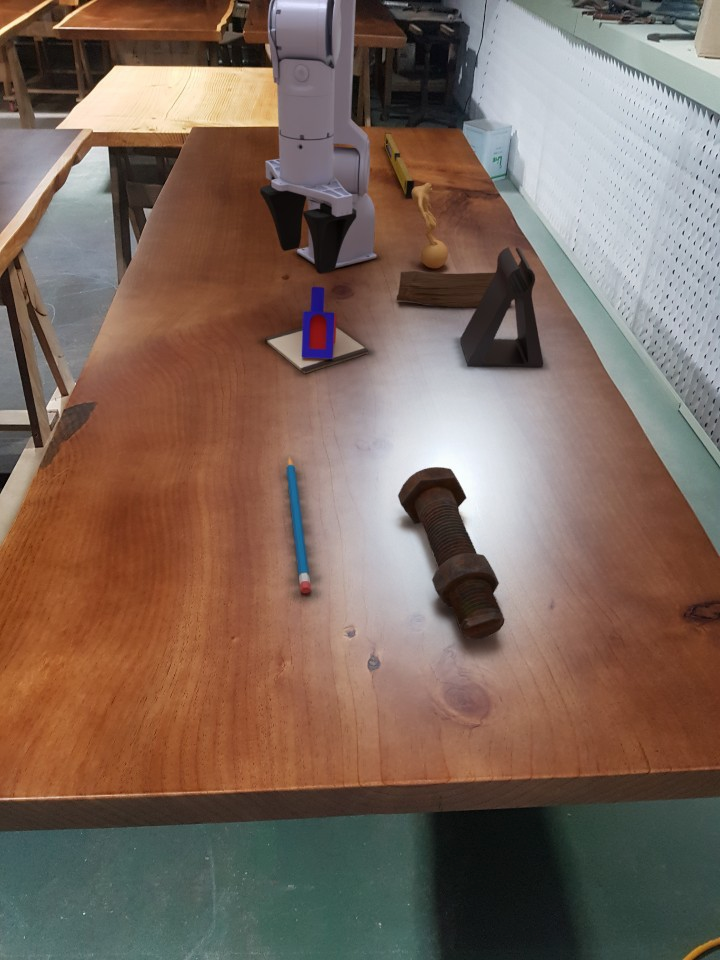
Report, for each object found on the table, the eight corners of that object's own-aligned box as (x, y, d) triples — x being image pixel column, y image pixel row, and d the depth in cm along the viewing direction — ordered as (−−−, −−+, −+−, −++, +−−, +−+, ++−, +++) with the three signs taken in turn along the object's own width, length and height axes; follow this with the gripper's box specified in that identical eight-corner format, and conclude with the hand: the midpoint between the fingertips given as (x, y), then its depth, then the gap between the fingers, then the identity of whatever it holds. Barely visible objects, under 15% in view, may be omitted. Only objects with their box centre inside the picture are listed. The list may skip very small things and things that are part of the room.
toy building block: (334, 358, 86) (337, 289, 84) (332, 358, 82) (335, 287, 80) (305, 356, 86) (307, 288, 84) (301, 357, 82) (304, 285, 80)
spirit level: (412, 198, 130) (414, 180, 128) (405, 197, 130) (406, 180, 128) (390, 147, 156) (391, 132, 154) (384, 147, 155) (384, 132, 154)
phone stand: (531, 342, 88) (551, 248, 81) (542, 367, 84) (565, 269, 76) (459, 341, 88) (473, 246, 80) (466, 366, 83) (481, 267, 76)
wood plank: (508, 302, 97) (514, 267, 94) (511, 309, 96) (518, 274, 92) (396, 301, 96) (399, 266, 93) (397, 308, 95) (400, 272, 91)
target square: (327, 323, 90) (326, 320, 90) (368, 353, 85) (368, 350, 85) (264, 341, 86) (264, 337, 86) (304, 373, 81) (304, 370, 80)
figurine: (446, 279, 102) (456, 193, 95) (404, 276, 102) (411, 190, 95) (445, 257, 109) (455, 175, 101) (406, 254, 109) (413, 172, 101)
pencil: (300, 593, 55) (300, 587, 55) (285, 459, 68) (284, 453, 68) (311, 593, 55) (311, 586, 55) (293, 459, 68) (293, 453, 68)
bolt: (466, 662, 53) (416, 521, 64) (528, 633, 52) (467, 496, 63) (437, 624, 49) (389, 482, 60) (503, 593, 48) (442, 454, 59)
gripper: (238, 121, 76) (246, 245, 85) (311, 155, 68) (312, 290, 76) (294, 114, 80) (297, 234, 88) (371, 146, 71) (365, 276, 80)
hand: (307, 259), depth 83 cm, fingers open, 7 cm apart
